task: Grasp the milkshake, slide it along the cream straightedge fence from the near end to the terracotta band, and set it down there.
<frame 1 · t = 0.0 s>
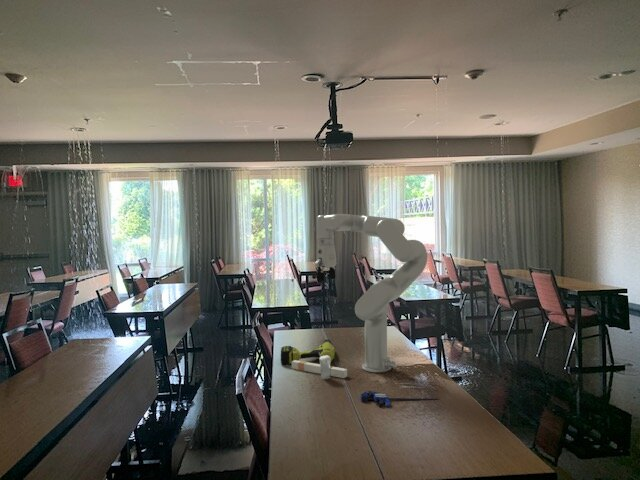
hand: (326, 279, 200), 37 cm above the table, tool pointing down, fingers open, 9 cm apart
bar clamp: (407, 402, 152), on the table
cordless drill: (308, 357, 207), on the table
straightedge fence: (318, 372, 185), on the table
milkshake: (324, 378, 178), on the table
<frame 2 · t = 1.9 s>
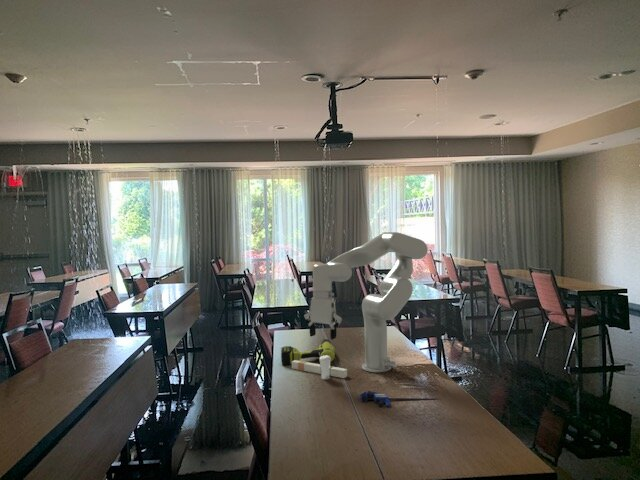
hand: (322, 337, 177), 17 cm above the table, tool pointing down, fingers open, 9 cm apart
nothing on the table moved.
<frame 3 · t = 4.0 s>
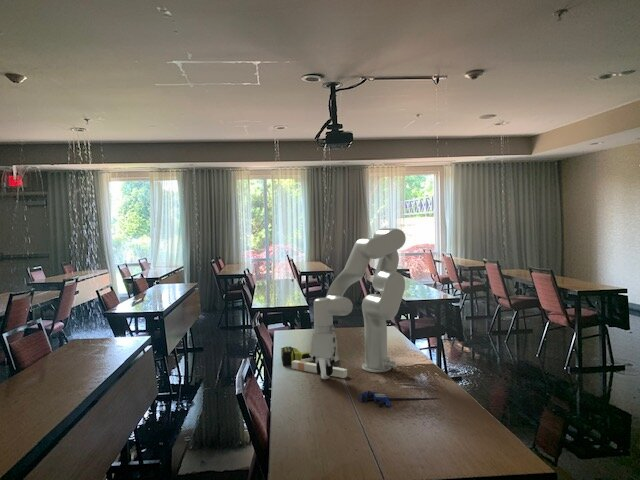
hand: (324, 373, 177), 2 cm above the table, tool pointing down, fingers closed on milkshake, 4 cm apart
milkshake: (324, 378, 178), on the table, touching gripper
everything else where it was.
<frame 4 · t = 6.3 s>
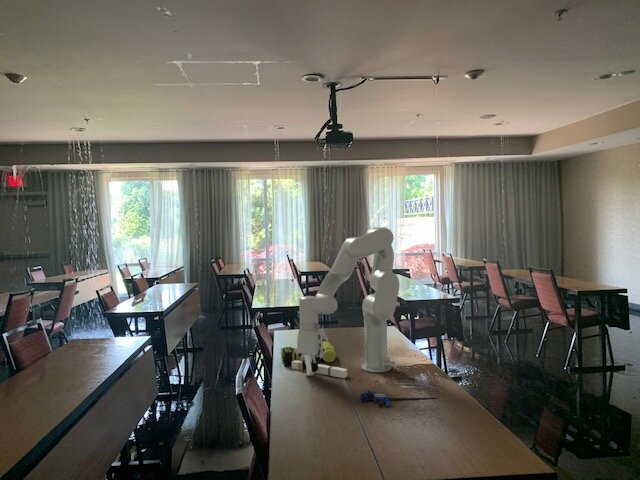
hand: (310, 370, 181), 2 cm above the table, tool pointing down, fingers closed on milkshake, 4 cm apart
milkshake: (310, 374, 181), on the table, touching gripper
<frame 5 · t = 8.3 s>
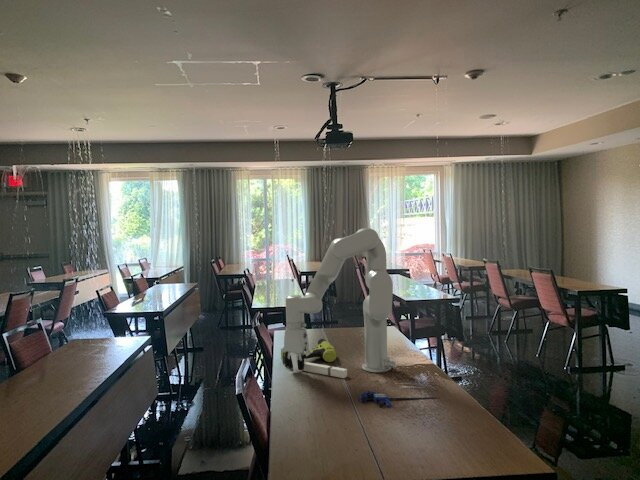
hand: (296, 368, 185), 2 cm above the table, tool pointing down, fingers closed on milkshake, 4 cm apart
milkshake: (296, 372, 185), on the table, touching gripper
when the fingers open (2 cm above the table, at t = 9.0 s): milkshake stays where it is, on the table.
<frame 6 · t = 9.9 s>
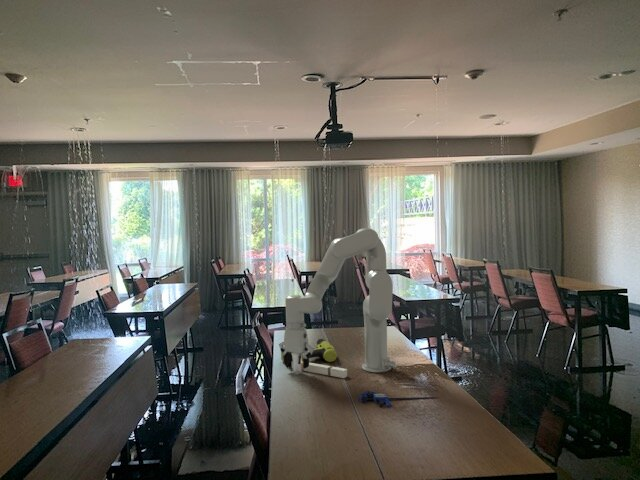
hand: (296, 365, 185), 3 cm above the table, tool pointing down, fingers open, 9 cm apart
milkshake: (296, 373, 185), on the table
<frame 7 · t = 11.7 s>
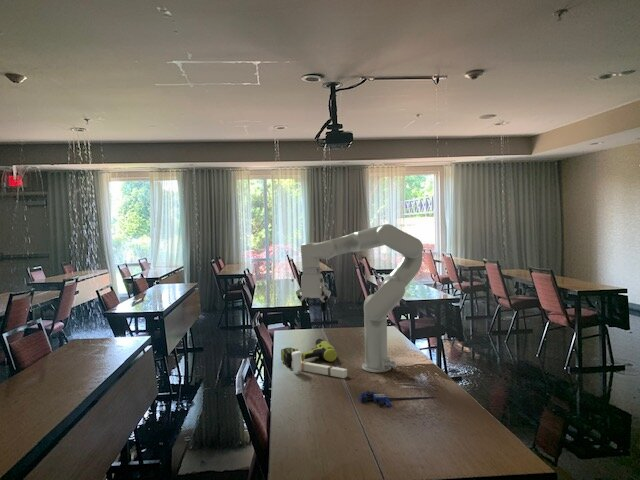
hand: (314, 310, 190), 25 cm above the table, tool pointing down, fingers open, 9 cm apart
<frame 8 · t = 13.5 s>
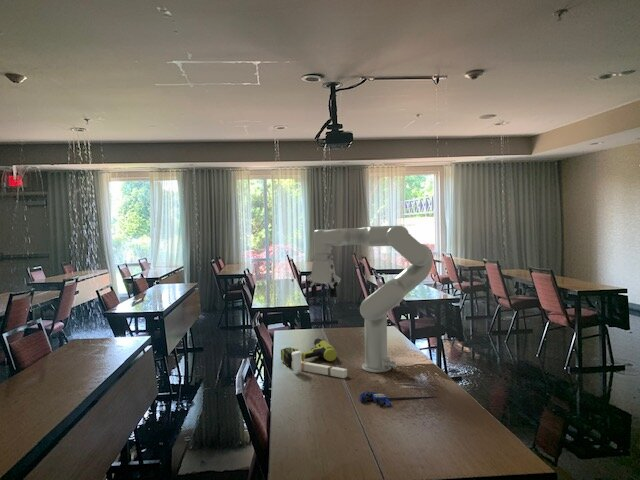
hand: (323, 296, 194), 30 cm above the table, tool pointing down, fingers open, 9 cm apart
at the end: milkshake 0.1 cm from the target spot, on the table; milkshake tilted 0°; the gripper is holding nothing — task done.
